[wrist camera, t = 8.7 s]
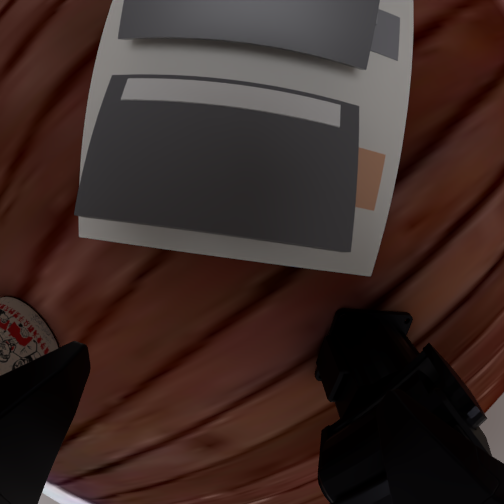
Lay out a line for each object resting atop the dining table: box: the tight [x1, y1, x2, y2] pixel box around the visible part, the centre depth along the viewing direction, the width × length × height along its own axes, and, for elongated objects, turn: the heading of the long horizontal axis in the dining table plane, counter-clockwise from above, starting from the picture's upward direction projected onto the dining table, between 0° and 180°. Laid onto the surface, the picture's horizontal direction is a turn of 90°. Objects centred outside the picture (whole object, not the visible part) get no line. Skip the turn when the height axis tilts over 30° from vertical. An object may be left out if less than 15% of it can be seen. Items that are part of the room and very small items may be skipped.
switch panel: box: [79, 0, 413, 276], centre depth 12 cm, size 18×29×3 cm, turn 171°
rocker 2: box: [74, 74, 359, 252], centre depth 12 cm, size 12×7×1 cm, turn 81°
